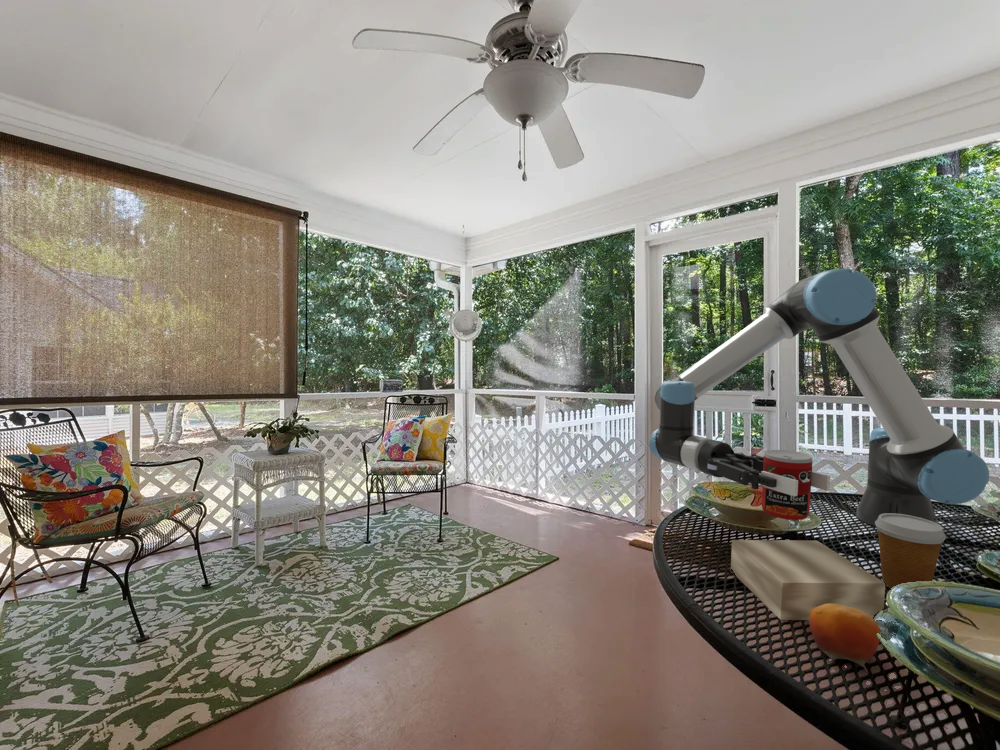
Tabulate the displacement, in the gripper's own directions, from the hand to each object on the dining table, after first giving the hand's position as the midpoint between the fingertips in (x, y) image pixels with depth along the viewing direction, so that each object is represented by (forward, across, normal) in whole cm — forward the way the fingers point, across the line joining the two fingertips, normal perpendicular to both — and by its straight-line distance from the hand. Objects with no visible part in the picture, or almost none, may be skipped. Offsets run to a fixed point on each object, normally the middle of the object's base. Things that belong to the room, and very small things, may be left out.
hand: (812, 485), depth 84 cm
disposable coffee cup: (+7, -16, -18) cm, 25 cm away
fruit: (+14, +14, -18) cm, 27 cm away
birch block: (+1, +4, -18) cm, 19 cm away
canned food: (-5, 0, -7) cm, 8 cm away
